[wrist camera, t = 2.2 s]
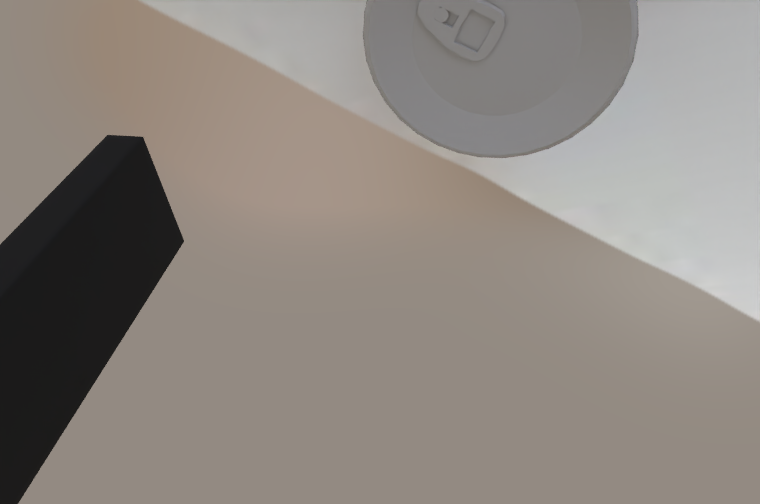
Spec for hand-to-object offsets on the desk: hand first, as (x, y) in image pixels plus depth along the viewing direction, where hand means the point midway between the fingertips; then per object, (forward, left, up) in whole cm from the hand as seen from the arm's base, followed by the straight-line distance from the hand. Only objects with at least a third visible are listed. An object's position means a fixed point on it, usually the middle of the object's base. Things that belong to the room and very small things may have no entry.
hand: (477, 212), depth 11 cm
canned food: (0, 0, -19) cm, 19 cm away
